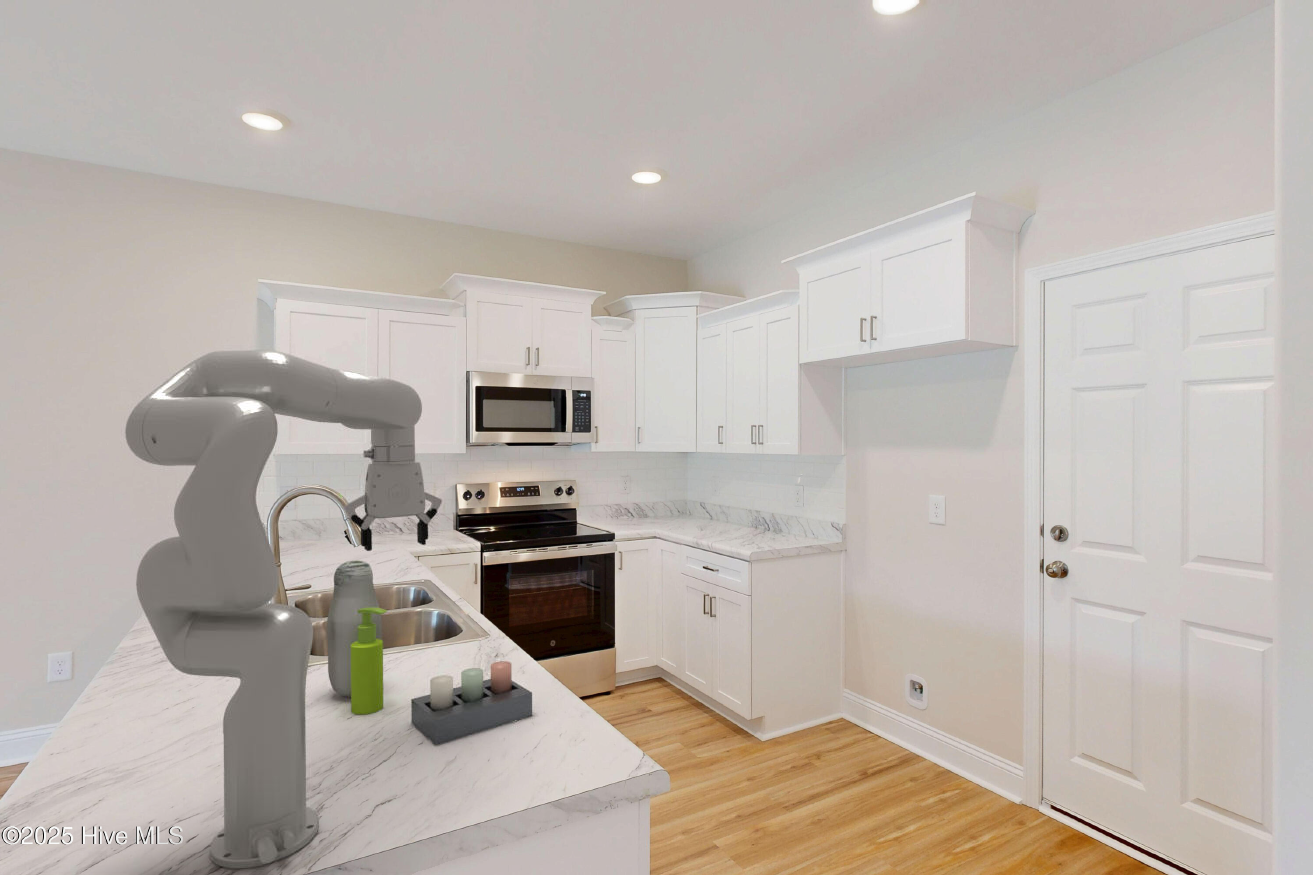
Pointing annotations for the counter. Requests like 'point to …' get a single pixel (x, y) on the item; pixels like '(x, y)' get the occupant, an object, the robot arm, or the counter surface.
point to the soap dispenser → (367, 666)
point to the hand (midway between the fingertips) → (395, 546)
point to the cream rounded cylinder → (441, 692)
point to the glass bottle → (348, 619)
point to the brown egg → (501, 677)
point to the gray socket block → (470, 713)
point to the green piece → (472, 684)
